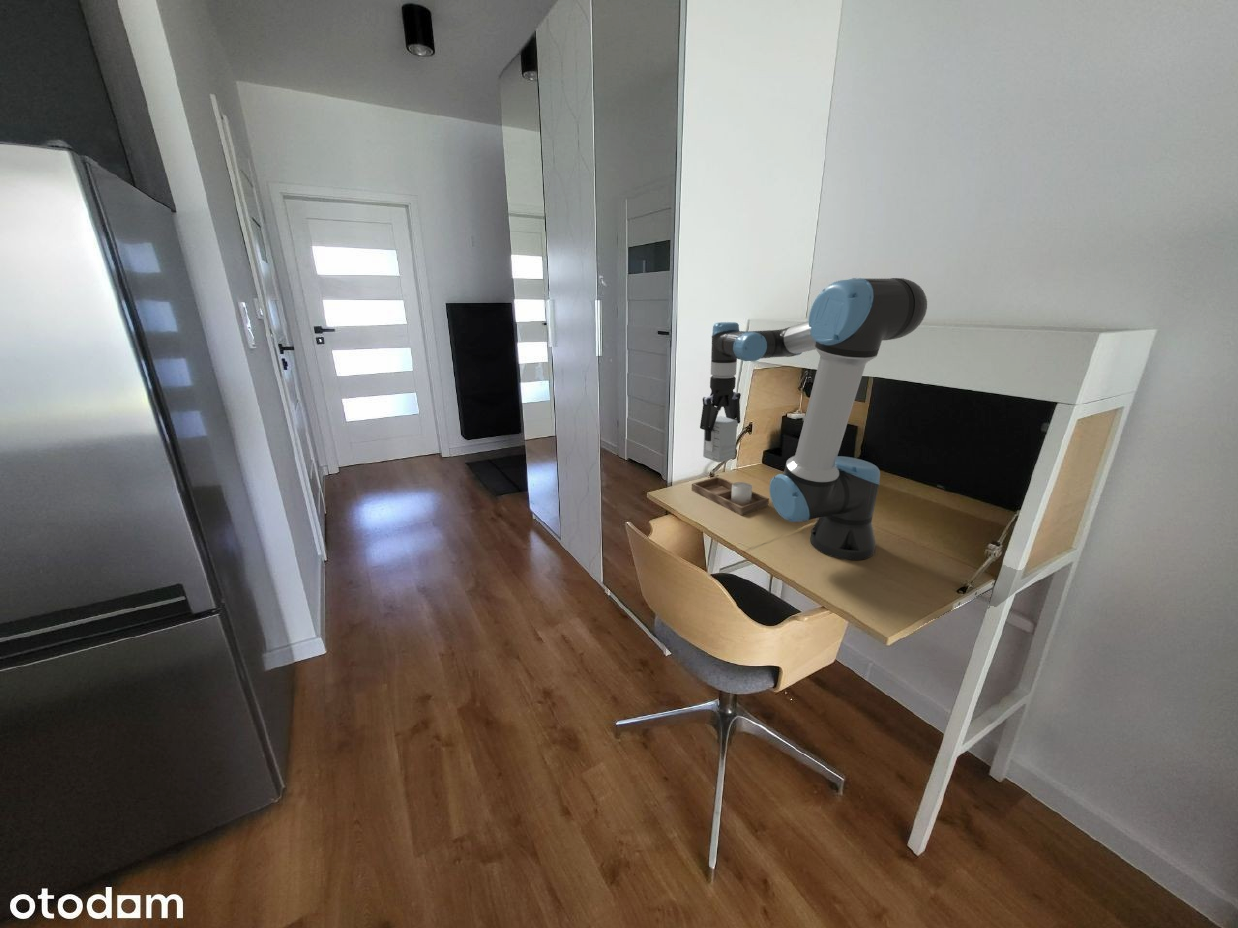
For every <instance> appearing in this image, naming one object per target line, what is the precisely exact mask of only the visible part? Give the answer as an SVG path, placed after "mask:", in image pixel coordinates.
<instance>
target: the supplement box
mask: <svg viewBox="0 0 1238 928" xmlns="http://www.w3.org/2000/svg"><path fill="white" fill-rule="evenodd" d="M737 429H738V426H737V420H735V419H731V418H727V417H726V416H722V415H719V416H717V418H716V421H715V424H714V427H713V430H712V431H714V451H713V452H711V451H708V450H706V440H705V430H703V450H702V451H703V455H702V456H703V458H706V459H708V460H710V461H714V462H716V463H719V464H720V463H723V462H726V461H729V460H733V459H735V458H736V447H737Z"/></svg>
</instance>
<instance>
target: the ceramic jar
mask: <svg viewBox="0 0 1238 928" xmlns="http://www.w3.org/2000/svg"><path fill="white" fill-rule="evenodd" d="M732 483H733V484H732V492H731V502H733V503H735V504H738V505H740V506H744V505H747V504H750V503H751V495H752V492H753V486H752V484H750V483H748V482H743V481H738V482H732Z"/></svg>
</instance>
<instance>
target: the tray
mask: <svg viewBox="0 0 1238 928" xmlns="http://www.w3.org/2000/svg"><path fill="white" fill-rule="evenodd" d="M733 483H734V482H732V481H729V480H727V479H725V478H723V477H720V476H714V477H711V478H707V479H704V480H700V481H698V482H693V483H691V491H692V492H693V493H696V494H697V495H699V496H701V497H703V498H705V499H707V500H709V501H711V502H713V503H716V504H717V505H719V506H721V507H723V508H725V509H727V510H730V511H731V512H733V513H735V514H737V515H739V516H743V515H746V514H750V513H753V512H756V511H758V510H761V509H764V508H767V507H769V502H770V498H768V497H767V496H764V495H761V494H759V493H756V492H754V491H752V495H751V503H750V504H747V505H744V506H740V505H738V504H735V503H733V502H731V492H732V484H733Z"/></svg>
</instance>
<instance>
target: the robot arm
mask: <svg viewBox="0 0 1238 928" xmlns="http://www.w3.org/2000/svg"><path fill="white" fill-rule="evenodd" d="M927 298H928V297H927V296H926V293H925V292H924V290H923V288H922V286H920V285H919V284H917V283H916V282H915V281H912V280H910V279H907V278H902V277H901V278H899V277H891V278H861V277H860V278H859V277H852V278H848V279H841V280H836V281H834V282H831V283H829V285H828V284H827V286H826V288H824V289H822V290H821V291H820V292H819V294H817V296H816V298H815V299H814V300H813V302H812V305H811V308H810V311H809V315H808V320H807V321H805V322H804V321H803V322H801V323H797V324H795V325H791V326H789V327H785V328H783V329H782V328H781V329H773V330H770V329H769V330H753V331H751V330H747V331H743V330H740V326H739V325H740V324H739V323H738V322H735V321H731V322H730V321H727V322H726V321H725V322H722V321H721V322H715V323H714V324H713V325H712V334H711V357H710V358H711V361H710V375H711V376H710V377H709V378H710V381H709V388H710V389H711V390H710V391H711V392H710V395H709V396H707V397H706V396H703V398H702V405H703V406H702V410H701V417H700V418H701V419H700V423H699V424H700V425H699V429H701V430H703V431H704V430H705V440H706V450H708V451H711V452H713V451H714V431H712V430H713V427H714V424H715V421H716V418H717V417H718V414H719V412H720V411H721V409H722V408H723V409H724V415H725V417H727V418H731V419H735V420H737V427H738V425H739V424H740V423H741V403H740V402H741V401H740V400H741V396H742V394H741V393H740V392H736V391H734V390H735V389H736V380H737V379H736V378H737V377H736V375H737V366H738V365H737V363H738V362H737V361H738V360H740V361H743V362H756V361H759V360H760V359H770V358H783V357H784V358H791V357H795V356H800V355H802V354H803V353H806V352H810V351H813V350H815V351H816V352H817V353H818V355H819V356H820V357H819V361H818V364H817V367H816V368H817V369H816V372H815V377H814V380H813V385H812V389H811V392H810V397H809V400H808V403H807V409H806V413H805V415H804V418H803V419H804V421H803V424H802V429H801V432H800V434H799V435H800V436H799V439H798V443H797V448H796V450H795V451H796V452H795V455H793V456H790V458H788V459H787V460H786V463H785V466H784V471H783V473H778V474H776V475H775V476H773V477H772V478H771V480H770V483H769V496H770V500H771V502H772V505H773V507H774V509H775V511H776V512H777V514H778V515H779V516H780V517H782V519H784V520H785V521H788V522H791V523H797V522H799V523H800V522H807V521H810V520H814V519H817V520H816V522H815V524H814V526H812V527H813V528H812V529H811V532H810V538H809V541H810V544H811V545H812V546H813V548H815V549H816V550H818V552H821V553H823V554H825V555H827V556H829V557H832V558H837V559H840V560H846V561H847V560H848V561H861V560H866V559H869V558H871V557H872V556H873V555H874V554H875V550H876V544H877V543H876V539H875V533H874V527H873V524H872V523H873V522H872V521H873V517H874V512H875V507H876V502H877V496H878V493H879V486H880V485H881V482H880V479H881V471H880V469H879V467H878V466H877V465H875V464H873V463H872V462H869V461H866V460H863V459H860V458H855V457H850V456H842V455H841V456H840V455H839V451H840V449H841V446H842V443H843V442H842V441H843V438H844V436H845V433H846V430H847V425H848V422H849V420H850V416H851V414H852V409H853V405H854V403H855V400H856V397H857V393H858V390H859V387H860V384H861V380H862V377H863V374H864V371H865V366H866V364H867V363H868V362H870V361H871V360H874V359H875V358H877V357H878V354H879V352H880V348H881V345H882V341H889V340H890V341H891V340H898V339H900V338H903V337H905V336H908V335H909V334H911V333H913V332H914V331H915V330H916V329H917V328H918V327H919V326H920V325H921V323H922V322H923V320H924V318H925V317H926V313H927V310H928V299H927ZM838 455H839V456H838Z"/></svg>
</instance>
